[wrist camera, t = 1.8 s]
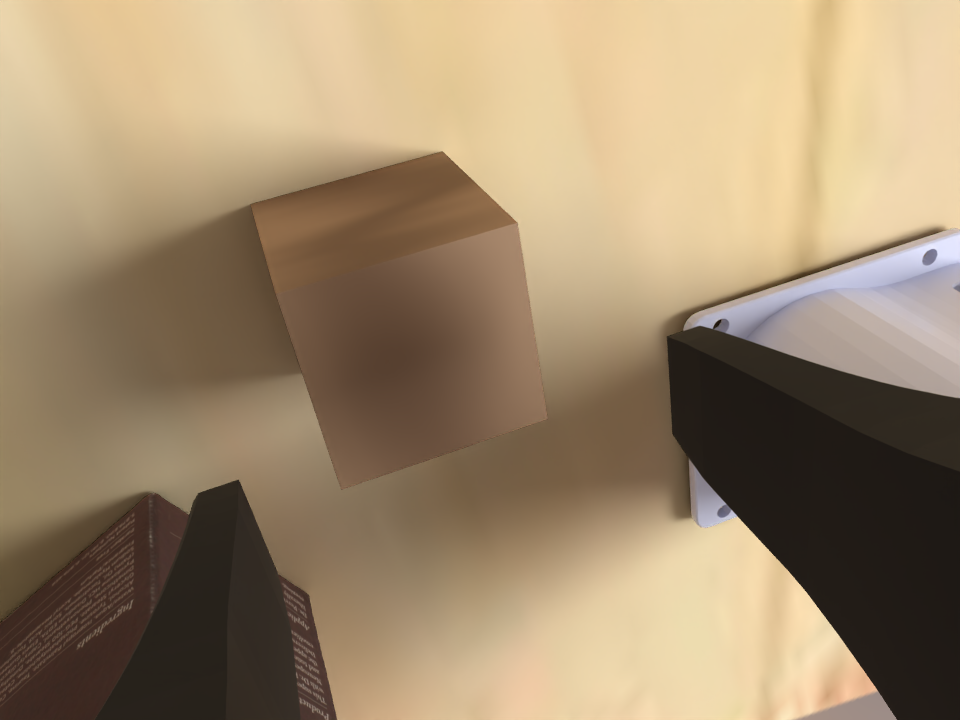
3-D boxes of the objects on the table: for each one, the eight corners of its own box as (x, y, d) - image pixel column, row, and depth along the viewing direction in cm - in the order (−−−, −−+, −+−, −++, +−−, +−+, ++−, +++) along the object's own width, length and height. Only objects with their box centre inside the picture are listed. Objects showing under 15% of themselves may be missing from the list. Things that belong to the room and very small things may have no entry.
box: (-22, 629, 22) (-93, 919, 16) (154, 480, 21) (152, 719, 15) (161, 720, 25) (163, 988, 19) (316, 593, 25) (368, 825, 19)
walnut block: (442, 150, 20) (517, 222, 15) (474, 317, 22) (547, 418, 18) (250, 203, 19) (275, 293, 15) (306, 370, 21) (341, 489, 17)
